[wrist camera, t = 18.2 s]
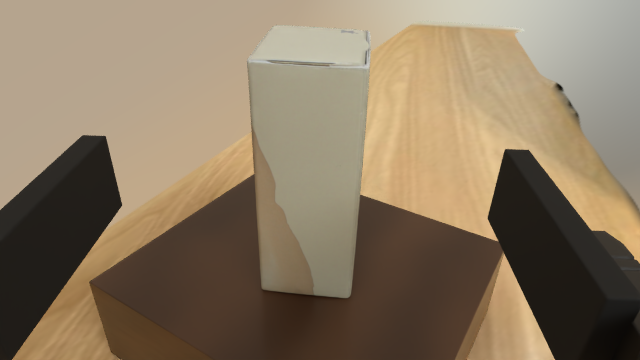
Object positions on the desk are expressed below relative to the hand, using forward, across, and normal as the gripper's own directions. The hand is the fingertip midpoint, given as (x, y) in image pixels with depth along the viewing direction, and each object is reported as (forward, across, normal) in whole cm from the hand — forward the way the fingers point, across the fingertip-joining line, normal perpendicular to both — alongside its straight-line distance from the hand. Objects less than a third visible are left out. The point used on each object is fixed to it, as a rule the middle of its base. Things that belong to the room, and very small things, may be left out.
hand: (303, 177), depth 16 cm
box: (+4, 0, -8) cm, 9 cm away
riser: (+4, 0, -13) cm, 13 cm away
